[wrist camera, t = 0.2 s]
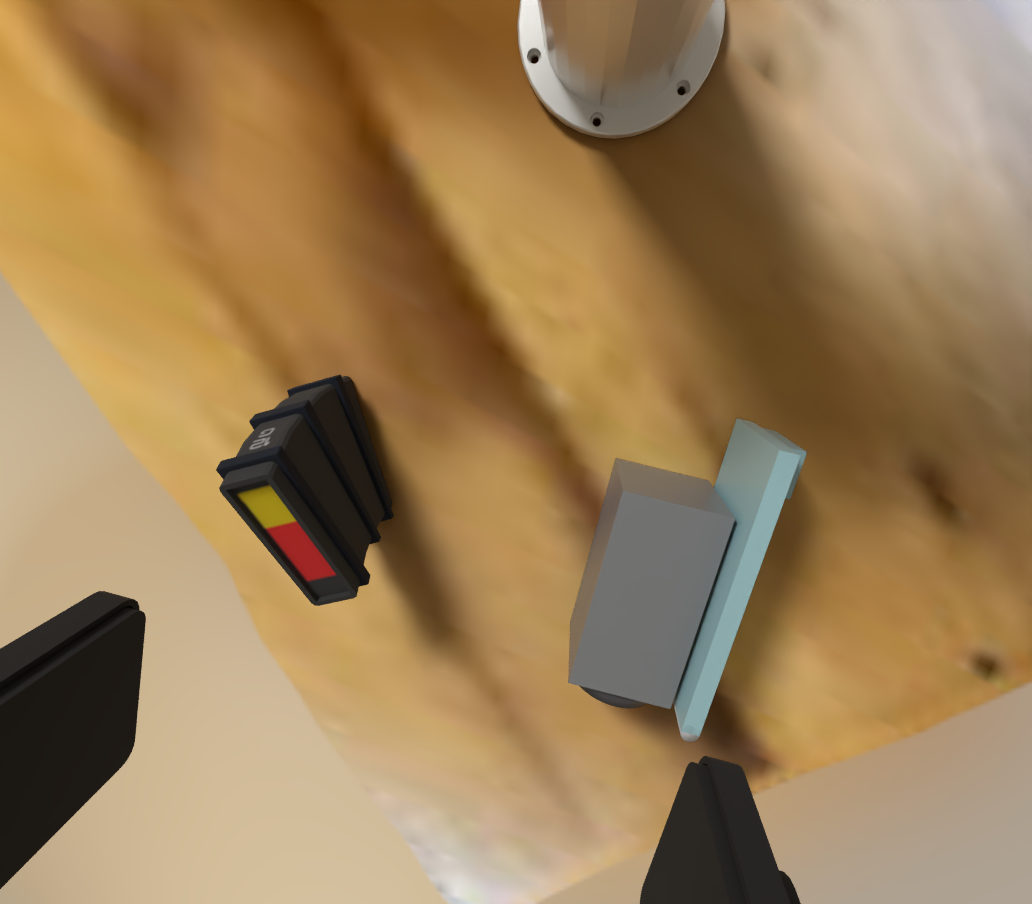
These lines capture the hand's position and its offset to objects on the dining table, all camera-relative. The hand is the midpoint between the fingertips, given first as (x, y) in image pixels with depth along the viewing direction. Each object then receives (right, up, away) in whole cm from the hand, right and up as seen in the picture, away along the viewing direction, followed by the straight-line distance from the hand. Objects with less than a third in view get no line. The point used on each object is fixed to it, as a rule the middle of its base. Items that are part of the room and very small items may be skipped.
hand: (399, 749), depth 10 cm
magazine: (-10, +4, +37) cm, 39 cm away
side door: (+16, -2, +35) cm, 39 cm away
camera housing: (+11, -3, +37) cm, 38 cm away
